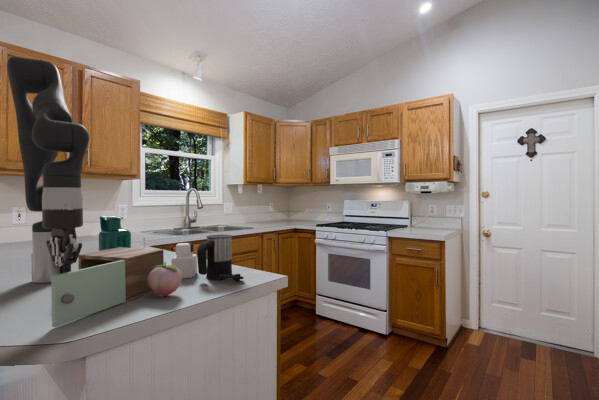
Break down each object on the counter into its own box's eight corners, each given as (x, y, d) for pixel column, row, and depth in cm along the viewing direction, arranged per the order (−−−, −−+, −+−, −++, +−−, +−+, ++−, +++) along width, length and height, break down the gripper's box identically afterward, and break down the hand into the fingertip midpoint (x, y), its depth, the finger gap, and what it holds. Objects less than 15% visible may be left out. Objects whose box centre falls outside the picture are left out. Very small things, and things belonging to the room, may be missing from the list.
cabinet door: (58, 328, 67) (57, 276, 67) (52, 326, 67) (51, 275, 67) (129, 301, 83) (128, 260, 83) (122, 301, 84) (122, 260, 84)
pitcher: (133, 276, 112) (133, 215, 111) (109, 282, 104) (108, 217, 104) (119, 273, 117) (118, 215, 117) (95, 278, 110) (94, 216, 110)
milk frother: (214, 273, 116) (213, 233, 116) (253, 275, 112) (253, 234, 112) (193, 283, 102) (192, 238, 102) (237, 286, 99) (237, 239, 98)
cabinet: (79, 295, 90) (78, 254, 90) (120, 282, 104) (119, 247, 103) (127, 301, 85) (126, 258, 85) (163, 287, 98) (163, 249, 98)
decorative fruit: (188, 292, 92) (188, 259, 92) (171, 301, 84) (171, 265, 84) (161, 290, 94) (160, 258, 94) (142, 299, 86) (141, 264, 86)
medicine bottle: (177, 273, 116) (177, 241, 115) (197, 273, 116) (196, 241, 116) (171, 278, 108) (171, 244, 108) (192, 278, 109) (191, 244, 109)
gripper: (31, 207, 72) (32, 281, 72) (56, 208, 65) (57, 289, 65) (68, 206, 79) (69, 274, 79) (94, 207, 72) (96, 281, 72)
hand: (64, 281), depth 72 cm, fingers closed
